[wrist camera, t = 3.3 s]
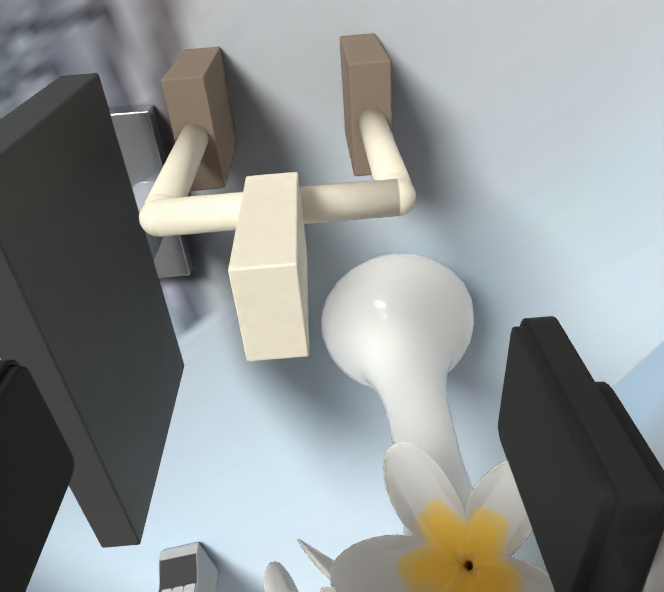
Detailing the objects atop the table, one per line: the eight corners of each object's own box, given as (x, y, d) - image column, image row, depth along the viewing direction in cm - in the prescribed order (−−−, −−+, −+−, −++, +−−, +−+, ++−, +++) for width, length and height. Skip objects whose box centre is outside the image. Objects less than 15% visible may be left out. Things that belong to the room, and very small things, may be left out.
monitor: (96, 313, 37) (-25, 559, 23) (-3, 55, 28) (-303, 203, 14) (202, 304, 37) (145, 544, 23) (137, 42, 28) (-22, 179, 14)
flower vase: (229, 344, 39) (153, 829, 19) (409, 135, 31) (620, 575, 11) (371, 420, 44) (435, 868, 24) (557, 256, 36) (894, 713, 16)
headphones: (204, 146, 31) (102, 407, 15) (184, 49, 28) (31, 242, 12) (377, 131, 31) (463, 375, 15) (375, 33, 28) (478, 203, 12)
